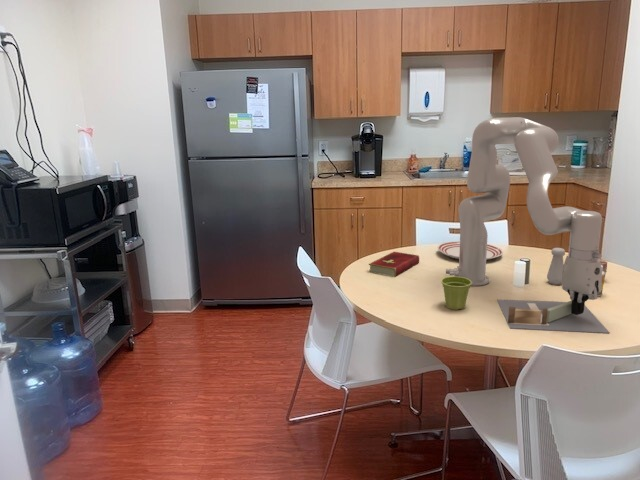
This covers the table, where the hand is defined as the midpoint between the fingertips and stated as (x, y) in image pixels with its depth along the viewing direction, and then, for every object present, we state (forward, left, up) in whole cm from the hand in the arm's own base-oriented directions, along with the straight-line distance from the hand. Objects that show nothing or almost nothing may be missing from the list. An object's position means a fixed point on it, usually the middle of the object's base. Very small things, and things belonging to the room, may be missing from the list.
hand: (577, 313), depth 140 cm
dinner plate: (-24, +66, -2) cm, 70 cm away
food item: (+16, +40, -2) cm, 43 cm away
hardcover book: (-55, +45, -2) cm, 71 cm away
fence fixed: (-15, -5, -2) cm, 16 cm away
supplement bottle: (+12, +22, -2) cm, 24 cm away
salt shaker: (+2, +32, -2) cm, 32 cm away
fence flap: (-4, 0, -1) cm, 4 cm away
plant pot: (-34, +6, -2) cm, 35 cm away
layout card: (-7, +2, -2) cm, 8 cm away
